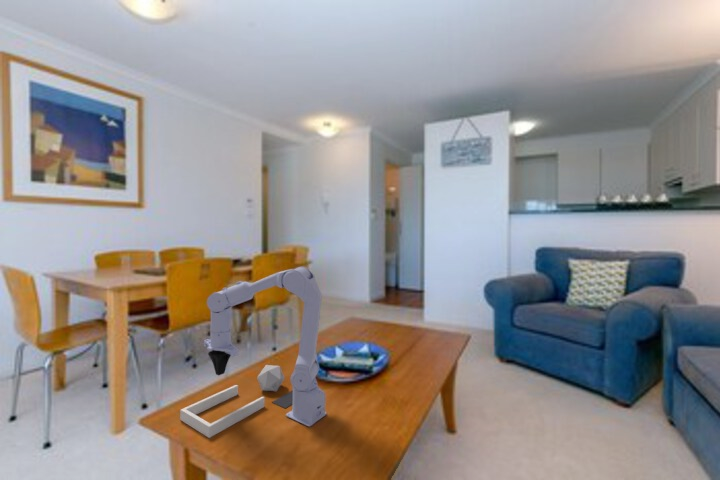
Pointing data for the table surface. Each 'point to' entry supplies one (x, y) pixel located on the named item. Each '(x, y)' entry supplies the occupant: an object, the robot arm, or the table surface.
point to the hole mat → (285, 400)
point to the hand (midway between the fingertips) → (220, 373)
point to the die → (270, 378)
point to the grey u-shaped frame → (211, 429)
